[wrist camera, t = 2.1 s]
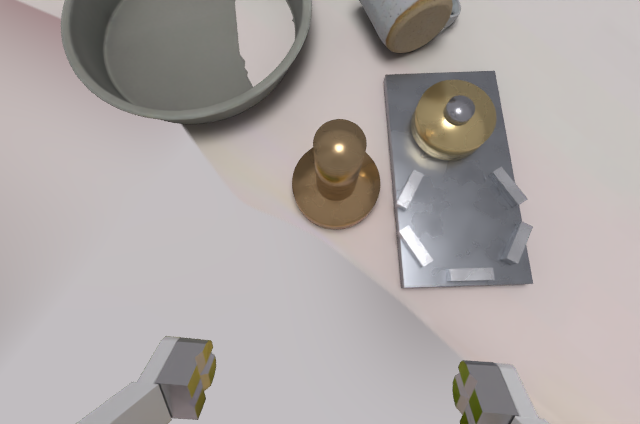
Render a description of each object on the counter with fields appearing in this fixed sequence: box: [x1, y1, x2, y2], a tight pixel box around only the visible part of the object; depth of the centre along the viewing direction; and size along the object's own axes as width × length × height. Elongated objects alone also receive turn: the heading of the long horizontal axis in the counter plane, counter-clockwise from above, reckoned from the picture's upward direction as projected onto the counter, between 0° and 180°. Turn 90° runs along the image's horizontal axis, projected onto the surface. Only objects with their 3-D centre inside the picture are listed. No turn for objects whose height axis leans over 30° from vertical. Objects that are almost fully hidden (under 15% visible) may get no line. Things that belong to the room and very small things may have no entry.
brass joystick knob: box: [292, 119, 380, 229], centre depth 27 cm, size 8×8×10 cm
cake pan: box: [61, 0, 312, 124], centre depth 35 cm, size 25×25×4 cm
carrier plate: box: [384, 71, 533, 288], centre depth 30 cm, size 12×21×5 cm, turn 2°
